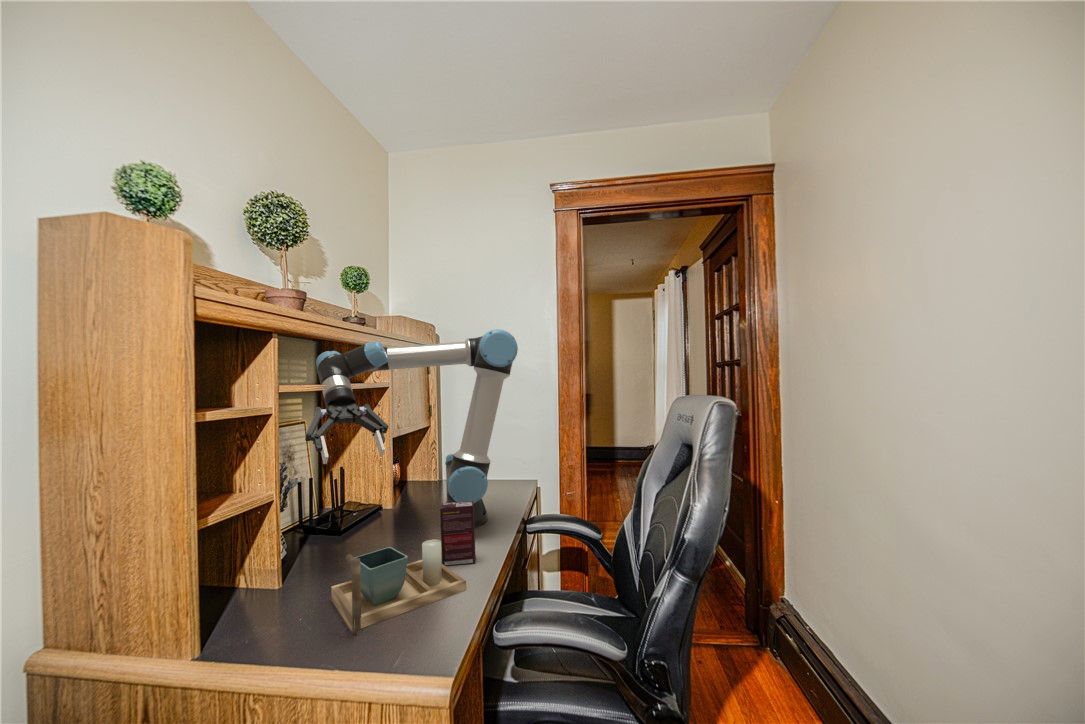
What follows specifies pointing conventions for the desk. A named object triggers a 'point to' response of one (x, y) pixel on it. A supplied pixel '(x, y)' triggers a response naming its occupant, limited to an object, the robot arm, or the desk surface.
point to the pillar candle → (432, 562)
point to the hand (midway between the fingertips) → (355, 456)
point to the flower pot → (382, 574)
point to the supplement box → (457, 533)
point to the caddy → (409, 598)
